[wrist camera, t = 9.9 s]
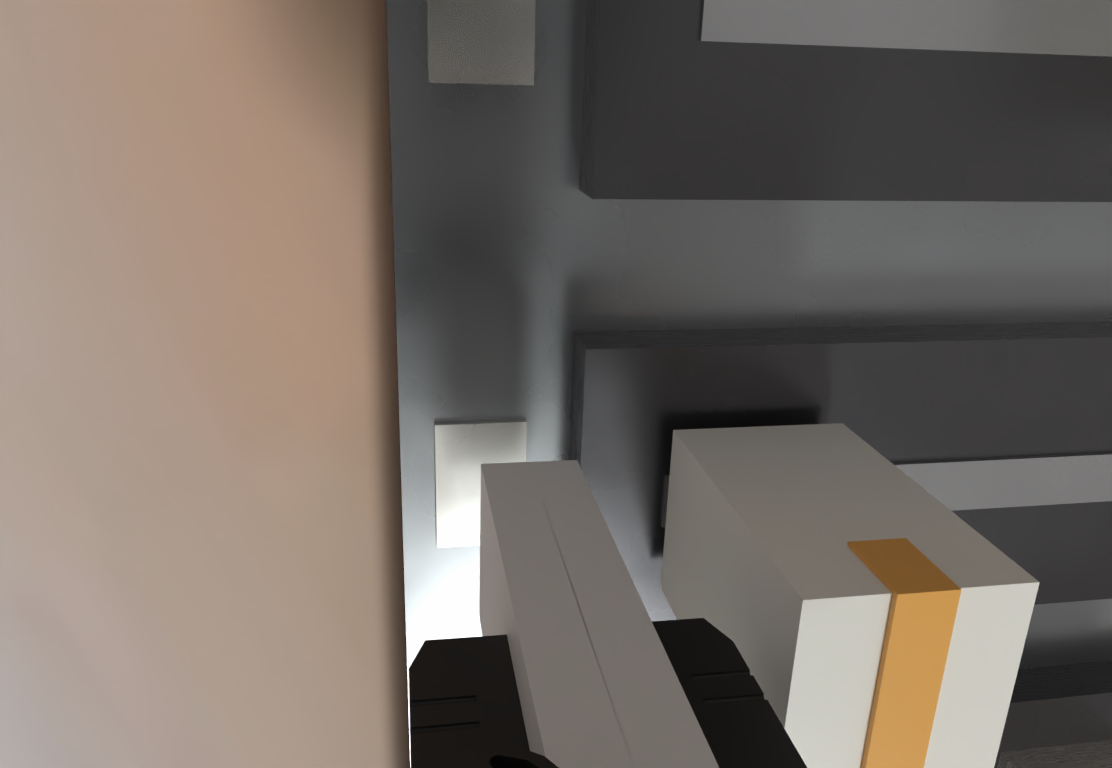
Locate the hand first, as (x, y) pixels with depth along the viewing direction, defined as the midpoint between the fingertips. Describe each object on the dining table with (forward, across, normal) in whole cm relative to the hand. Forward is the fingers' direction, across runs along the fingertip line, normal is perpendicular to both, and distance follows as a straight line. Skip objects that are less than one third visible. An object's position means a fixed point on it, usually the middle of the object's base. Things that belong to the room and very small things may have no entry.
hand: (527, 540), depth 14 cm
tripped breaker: (+1, +4, 0) cm, 4 cm away
